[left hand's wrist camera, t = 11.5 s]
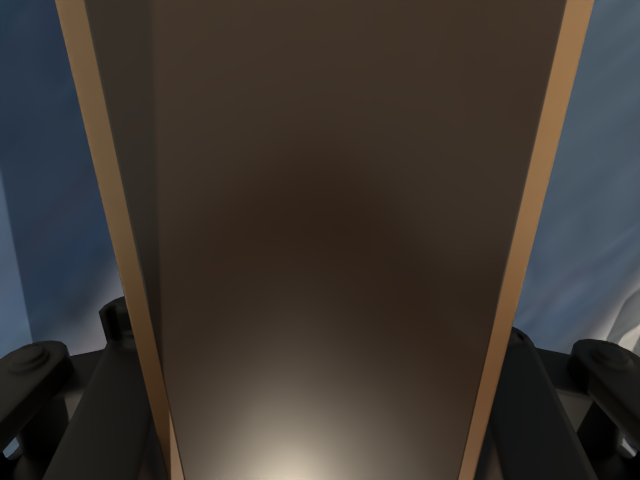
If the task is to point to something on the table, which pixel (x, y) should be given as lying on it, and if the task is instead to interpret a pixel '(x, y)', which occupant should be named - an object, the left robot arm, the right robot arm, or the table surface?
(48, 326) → the table surface
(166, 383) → the tray
